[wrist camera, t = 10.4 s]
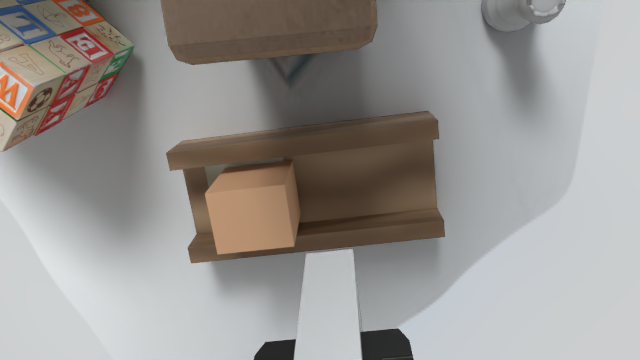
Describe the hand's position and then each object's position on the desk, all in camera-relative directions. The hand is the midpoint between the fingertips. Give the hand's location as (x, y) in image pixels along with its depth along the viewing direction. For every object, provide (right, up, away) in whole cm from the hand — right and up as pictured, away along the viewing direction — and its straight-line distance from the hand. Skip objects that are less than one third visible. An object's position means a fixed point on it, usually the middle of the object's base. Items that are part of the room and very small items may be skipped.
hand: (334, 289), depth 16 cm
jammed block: (-5, +3, +28) cm, 29 cm away
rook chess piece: (+15, +18, +25) cm, 34 cm away
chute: (-1, +4, +29) cm, 30 cm away
